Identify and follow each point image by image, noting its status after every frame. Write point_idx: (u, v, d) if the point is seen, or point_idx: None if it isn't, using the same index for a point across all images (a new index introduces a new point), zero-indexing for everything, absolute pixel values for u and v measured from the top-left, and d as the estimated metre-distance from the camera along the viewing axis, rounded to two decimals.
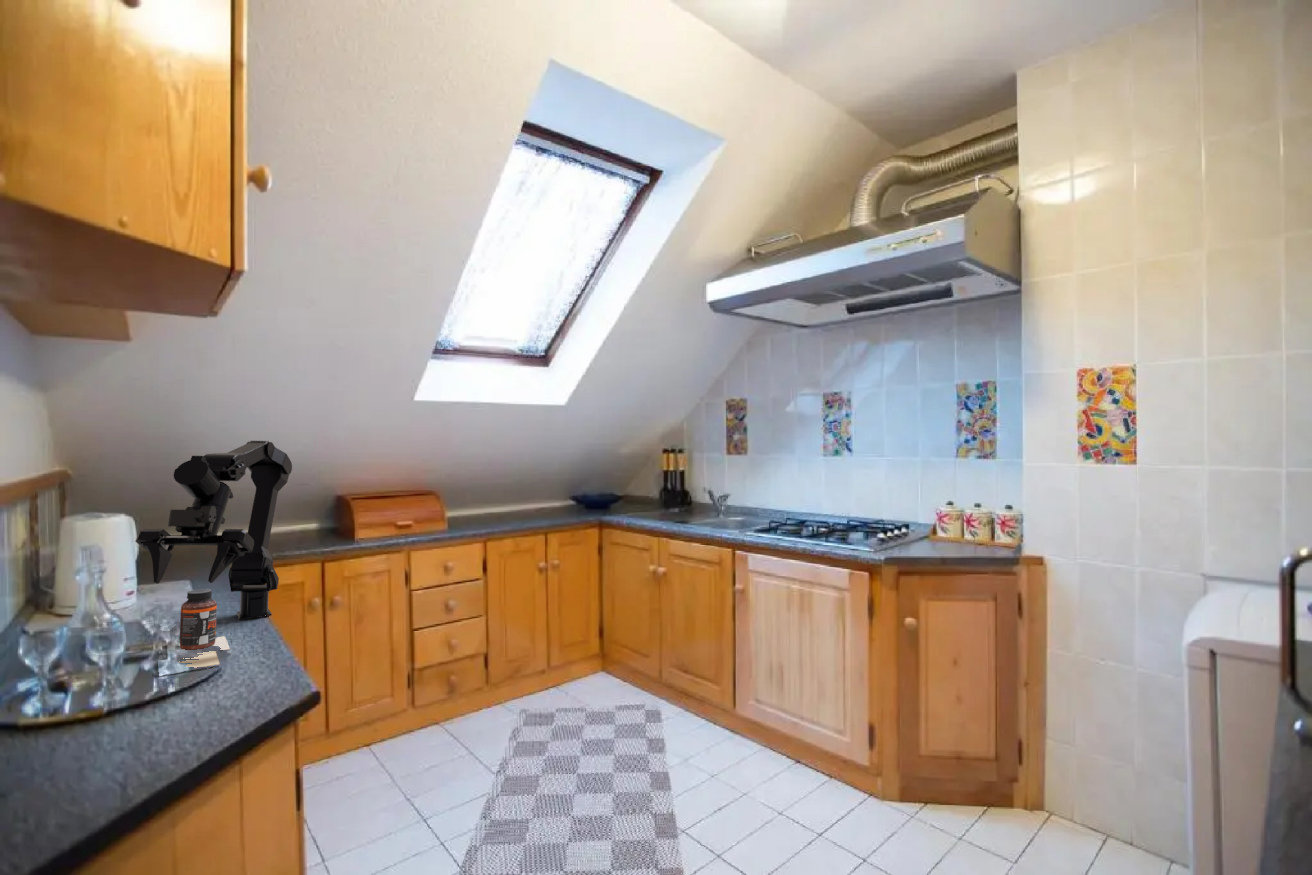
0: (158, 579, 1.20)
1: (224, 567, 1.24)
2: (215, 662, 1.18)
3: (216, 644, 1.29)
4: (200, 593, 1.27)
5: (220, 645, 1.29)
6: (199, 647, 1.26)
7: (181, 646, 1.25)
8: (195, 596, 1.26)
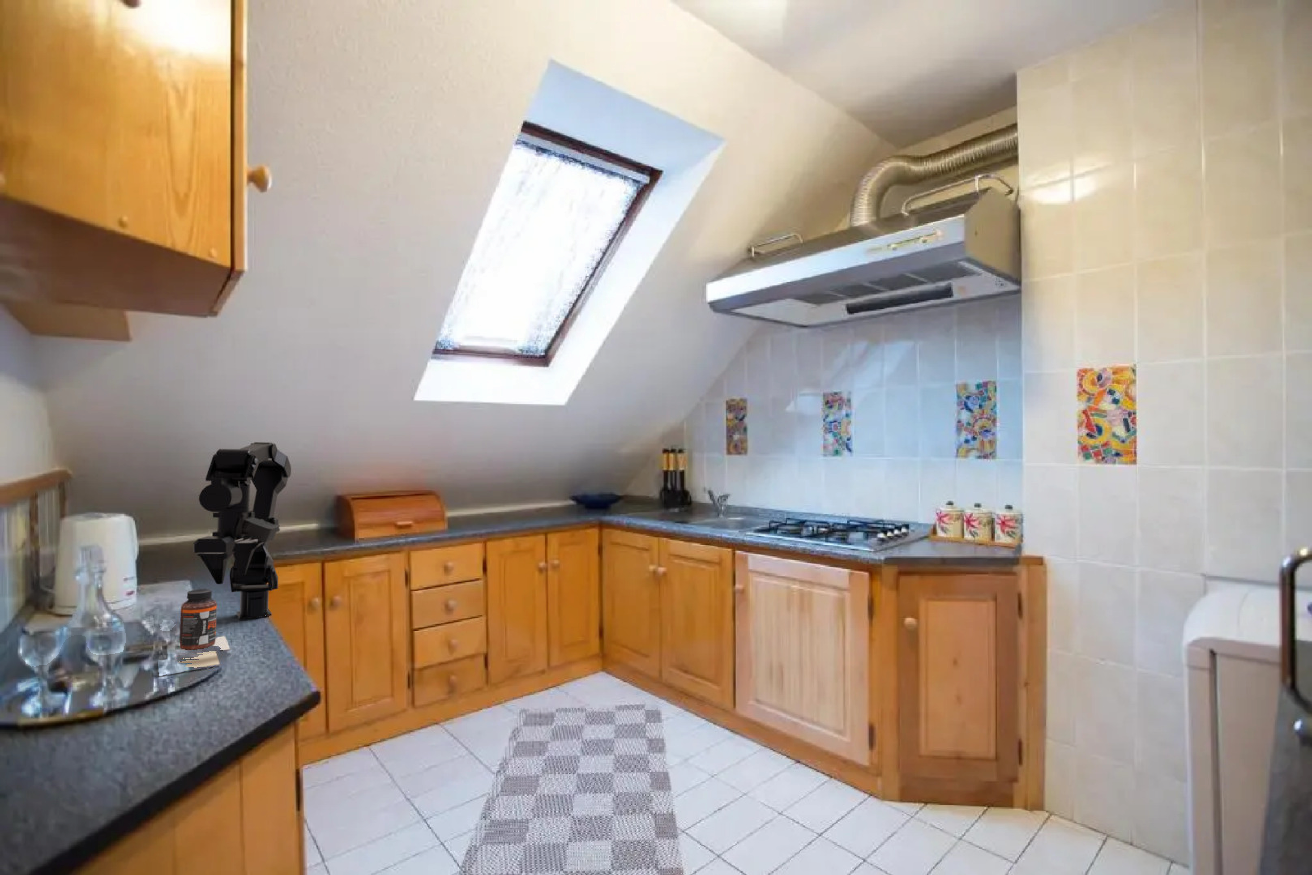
0: None
1: None
2: (215, 662, 1.18)
3: (216, 644, 1.29)
4: (200, 593, 1.27)
5: (220, 645, 1.29)
6: (199, 647, 1.26)
7: (181, 646, 1.25)
8: (195, 596, 1.26)
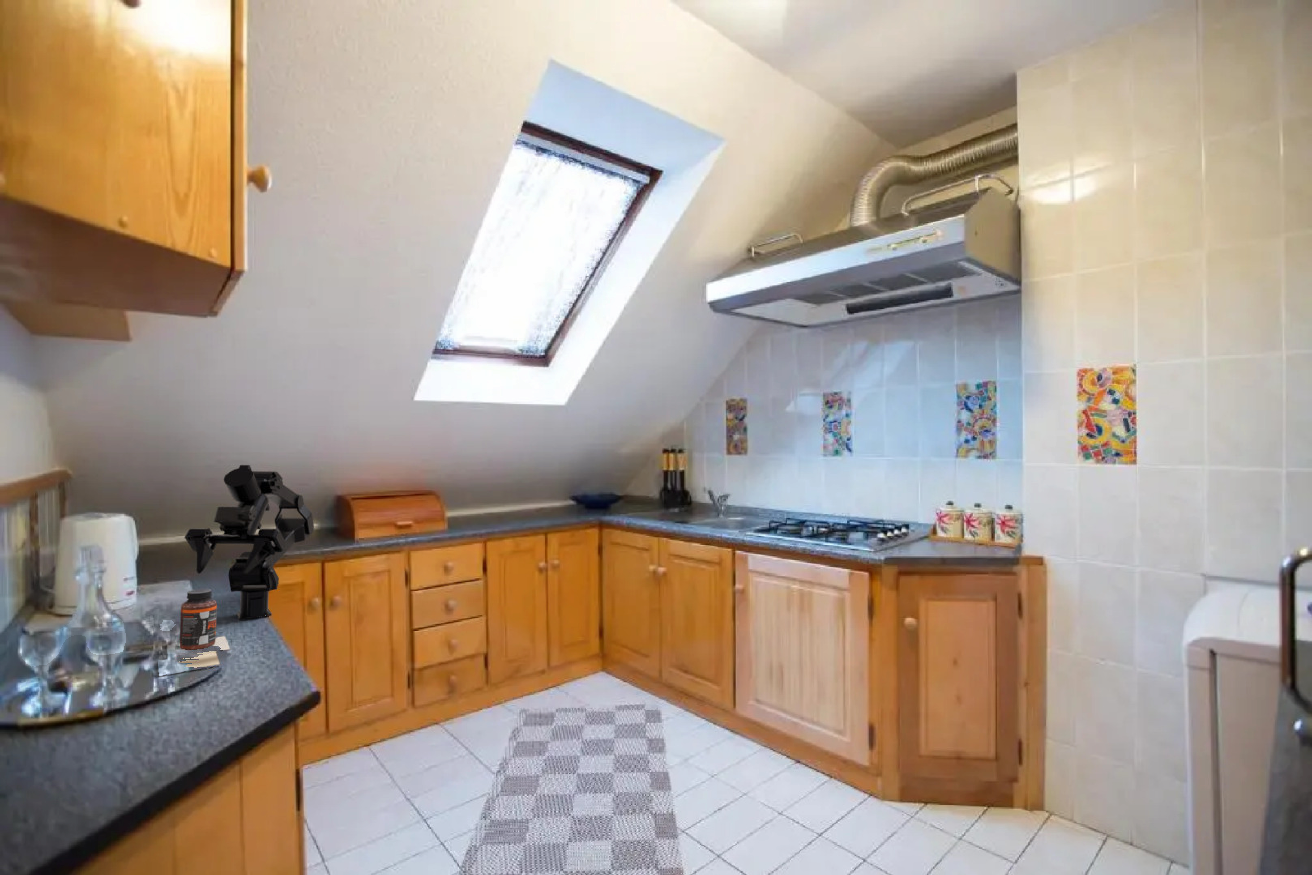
0: (200, 569, 1.36)
1: (257, 561, 1.40)
2: (215, 662, 1.18)
3: (216, 644, 1.29)
4: (200, 593, 1.27)
5: (220, 645, 1.29)
6: (199, 647, 1.26)
7: (181, 646, 1.25)
8: (195, 596, 1.26)
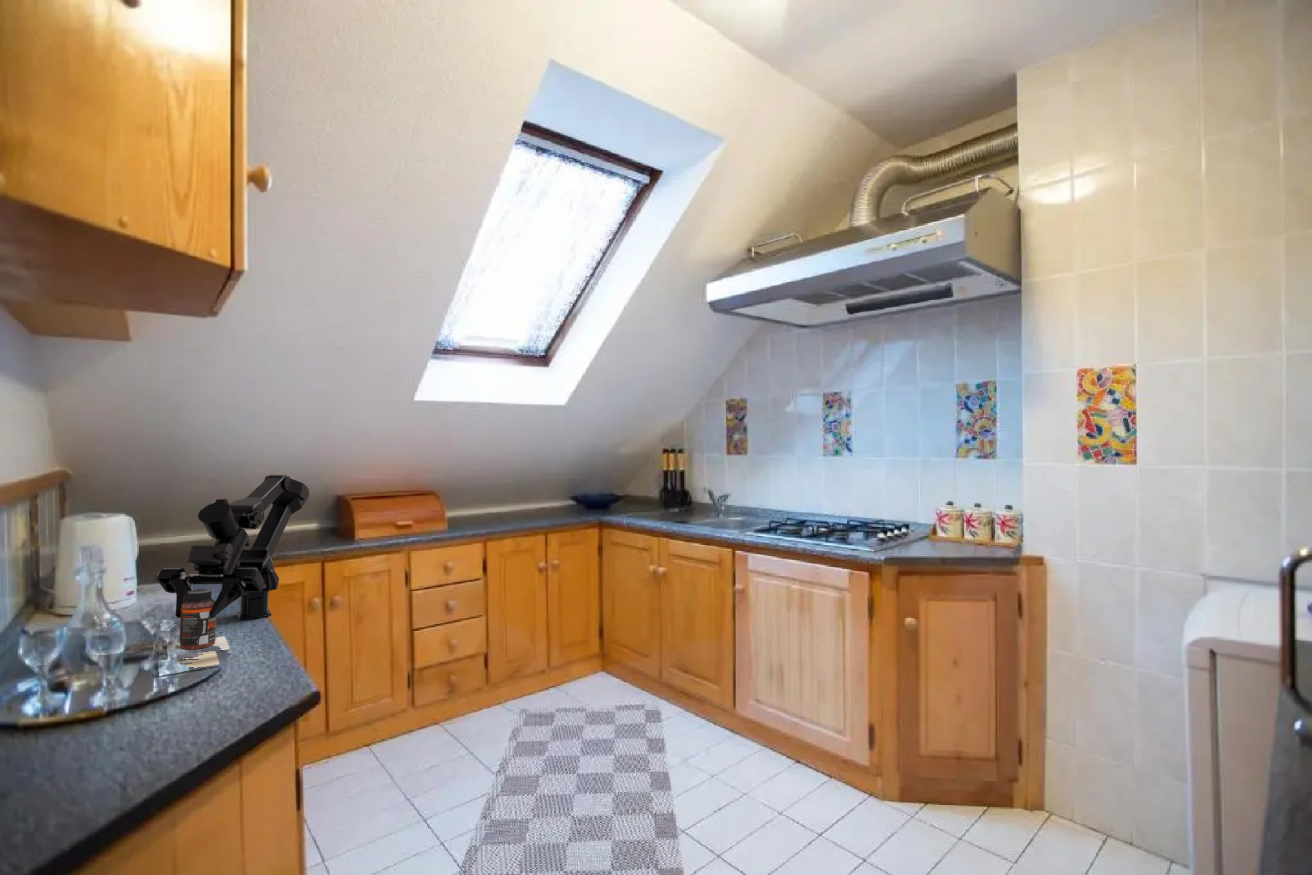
0: (179, 613, 1.27)
1: (226, 603, 1.30)
2: (215, 662, 1.18)
3: (216, 644, 1.29)
4: (200, 593, 1.27)
5: (220, 645, 1.29)
6: (199, 647, 1.26)
7: (181, 646, 1.25)
8: (195, 596, 1.26)
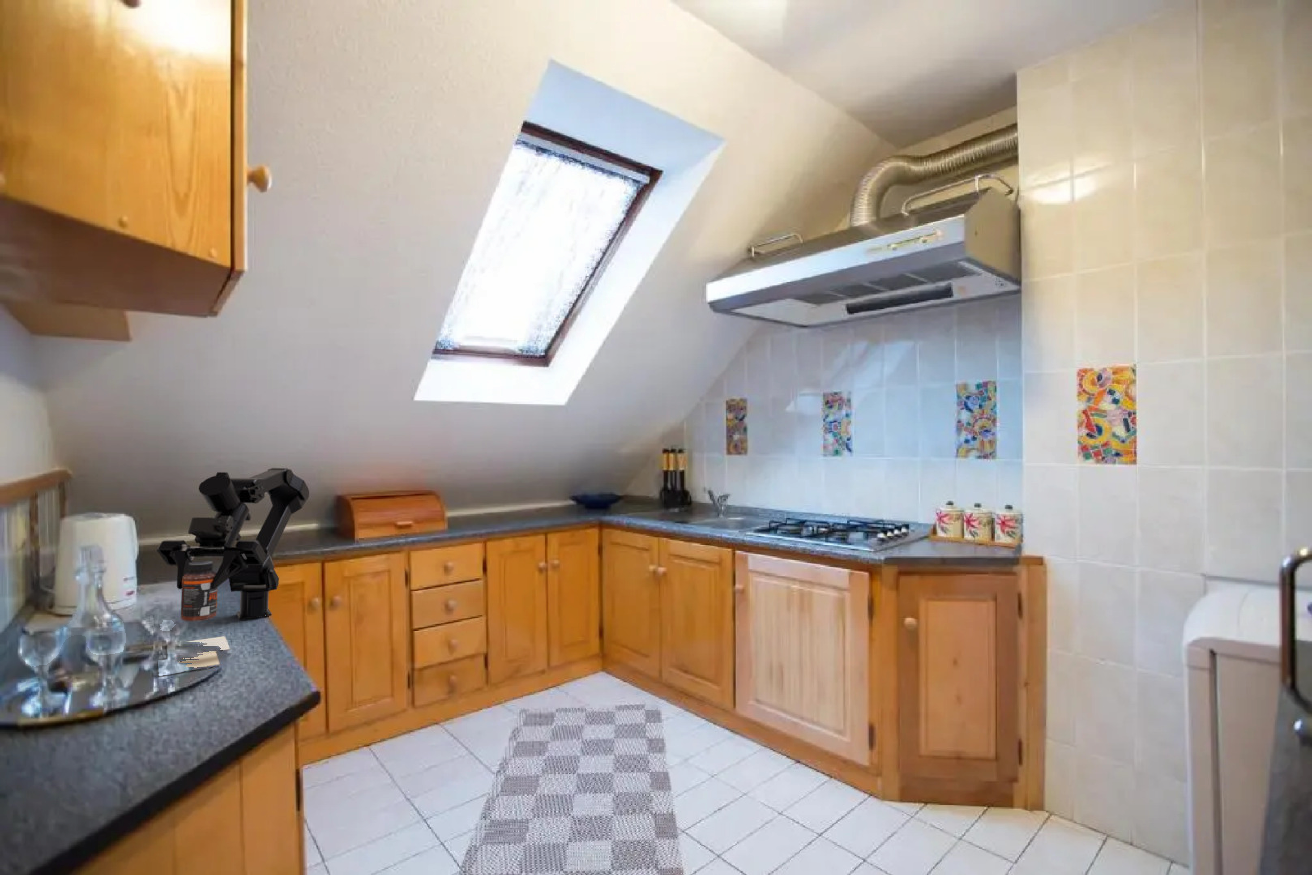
0: (181, 585, 1.27)
1: (227, 576, 1.30)
2: (215, 662, 1.18)
3: (216, 644, 1.29)
4: (201, 564, 1.27)
5: (220, 645, 1.29)
6: (200, 618, 1.26)
7: (182, 617, 1.25)
8: (196, 567, 1.26)
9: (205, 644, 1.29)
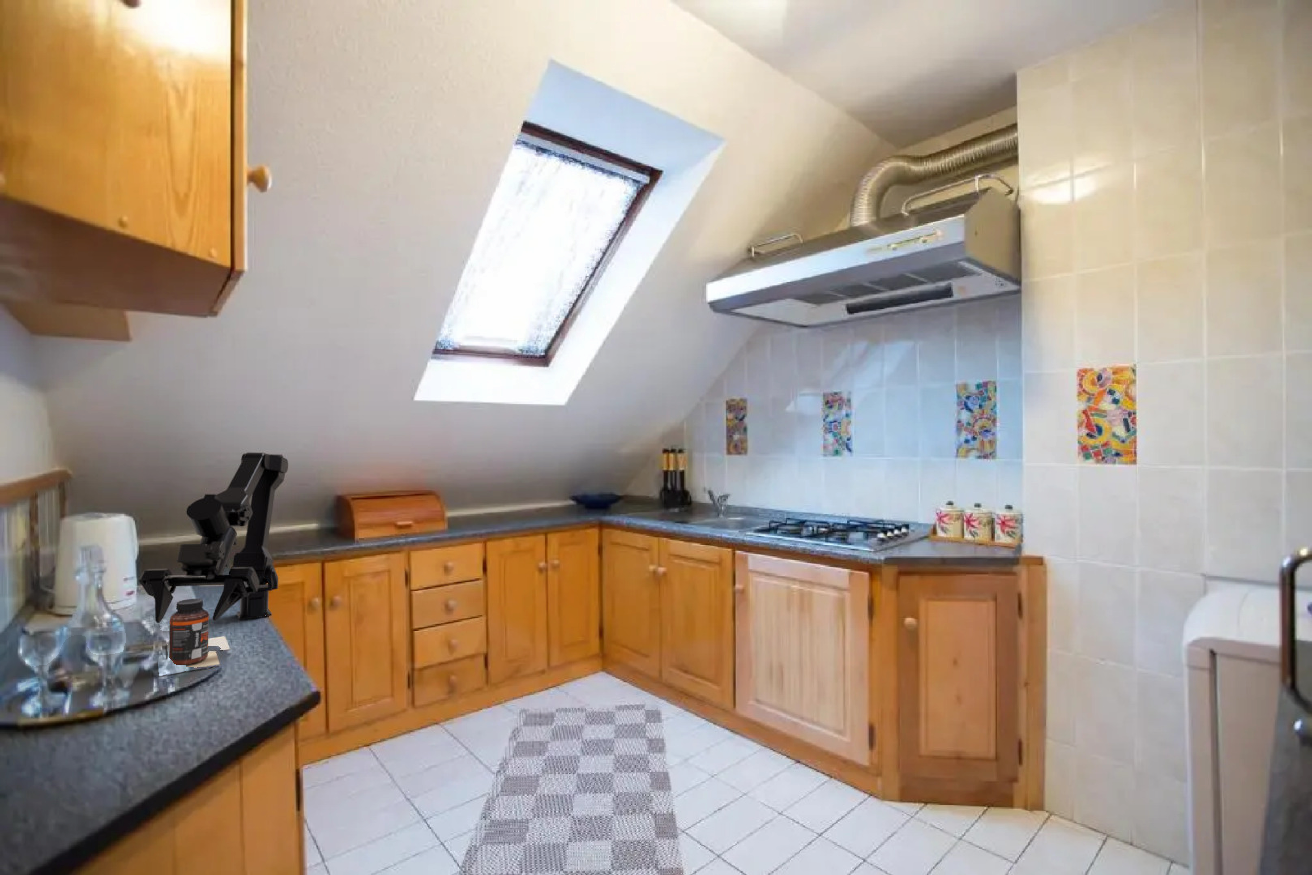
0: (159, 618, 1.17)
1: (228, 606, 1.22)
2: (215, 662, 1.18)
3: (216, 644, 1.29)
4: (191, 603, 1.17)
5: (220, 645, 1.29)
6: (192, 661, 1.17)
7: None
8: (186, 607, 1.17)
9: None
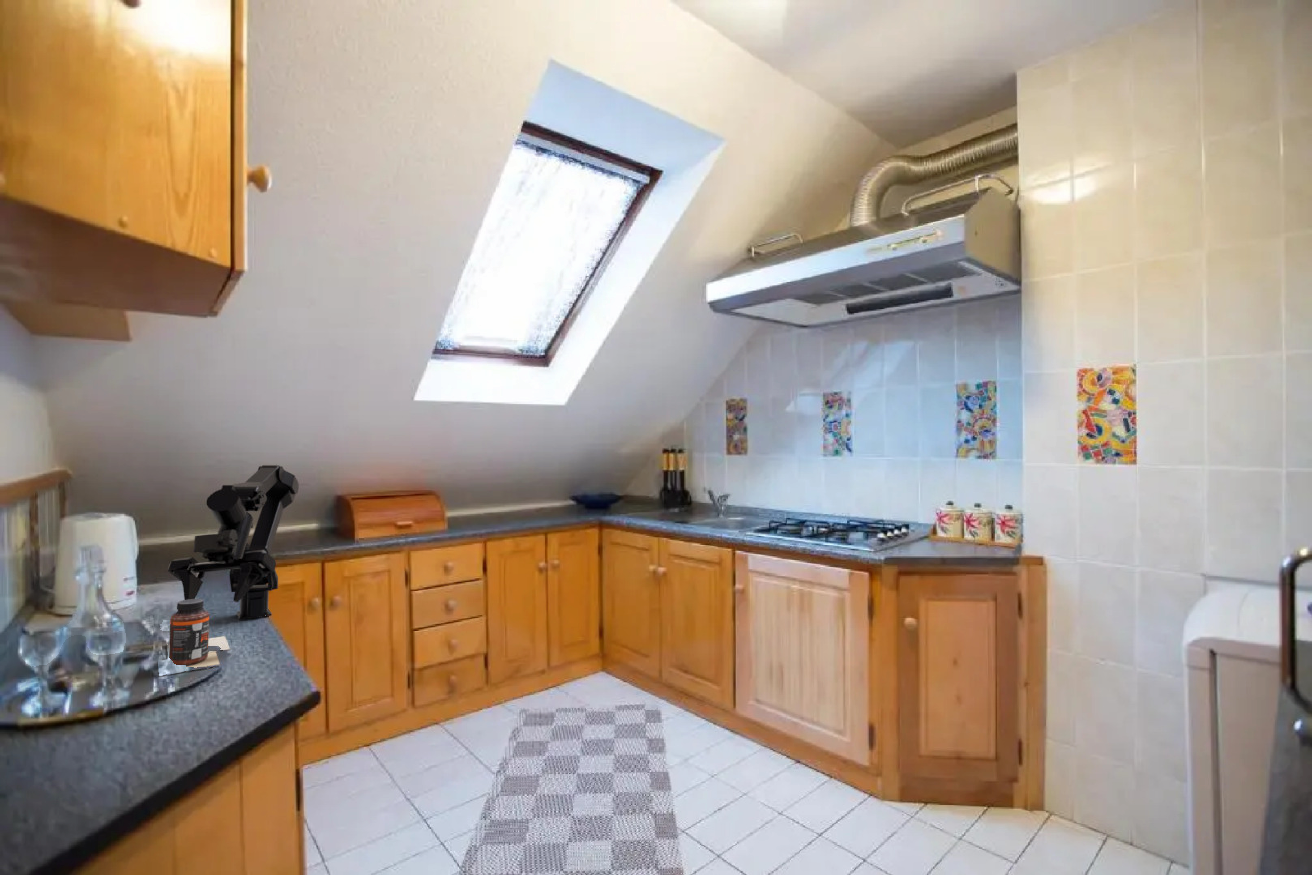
0: None
1: (248, 587, 1.31)
2: (215, 662, 1.18)
3: (216, 644, 1.29)
4: (192, 603, 1.17)
5: (220, 645, 1.29)
6: (192, 662, 1.17)
7: None
8: (186, 607, 1.17)
9: None
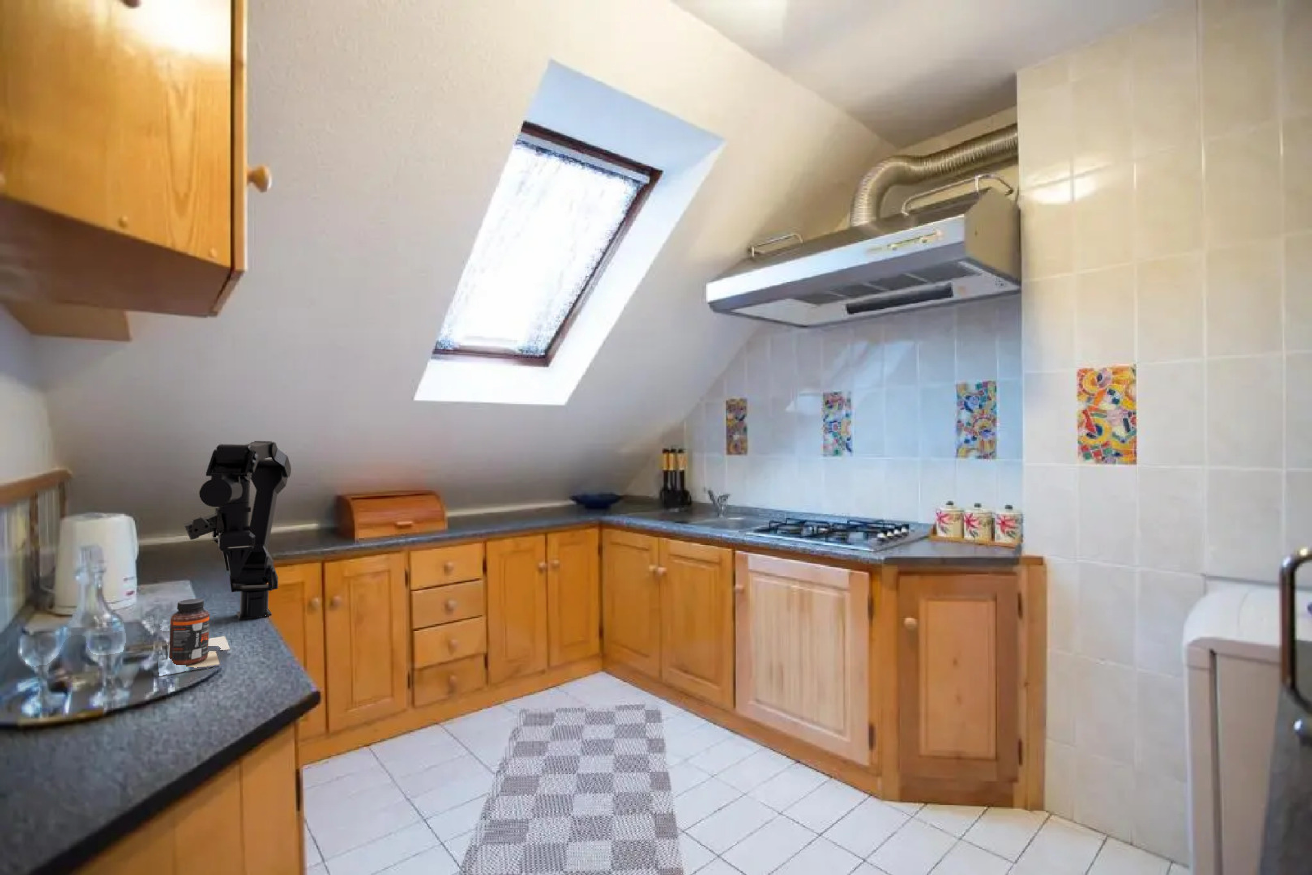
0: None
1: (240, 562, 1.32)
2: (215, 662, 1.18)
3: (216, 644, 1.29)
4: (192, 603, 1.18)
5: (220, 645, 1.29)
6: (192, 662, 1.17)
7: None
8: (186, 607, 1.17)
9: None
